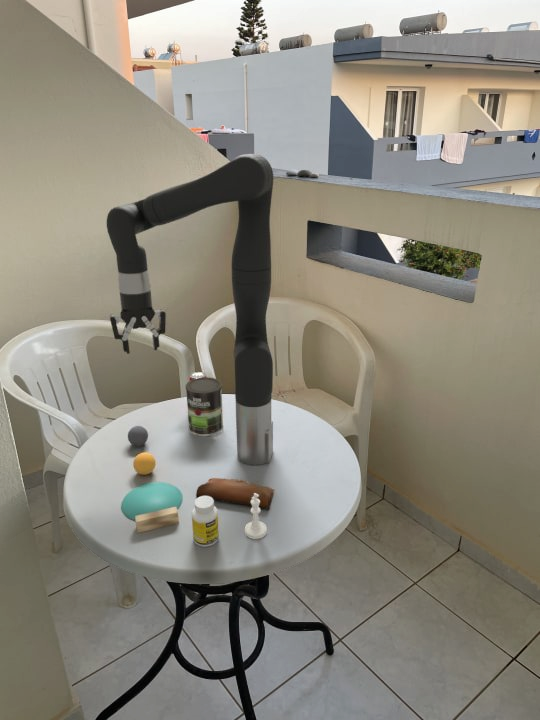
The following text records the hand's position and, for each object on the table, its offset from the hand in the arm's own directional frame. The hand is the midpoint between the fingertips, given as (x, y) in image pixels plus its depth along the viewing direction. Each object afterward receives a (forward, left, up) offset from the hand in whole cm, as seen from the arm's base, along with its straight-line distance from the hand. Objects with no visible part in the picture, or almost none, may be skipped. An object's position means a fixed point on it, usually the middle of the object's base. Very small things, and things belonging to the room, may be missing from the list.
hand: (141, 350), depth 132 cm
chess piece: (-36, +30, -28) cm, 55 cm away
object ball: (-4, +14, -25) cm, 29 cm away
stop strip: (-14, +32, -28) cm, 45 cm away
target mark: (-10, +24, -28) cm, 38 cm away
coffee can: (-13, -10, -28) cm, 32 cm away
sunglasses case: (-29, +18, -29) cm, 45 cm away
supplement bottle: (-26, +34, -28) cm, 51 cm away
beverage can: (-8, -20, -28) cm, 35 cm away
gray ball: (+3, +2, -25) cm, 25 cm away
